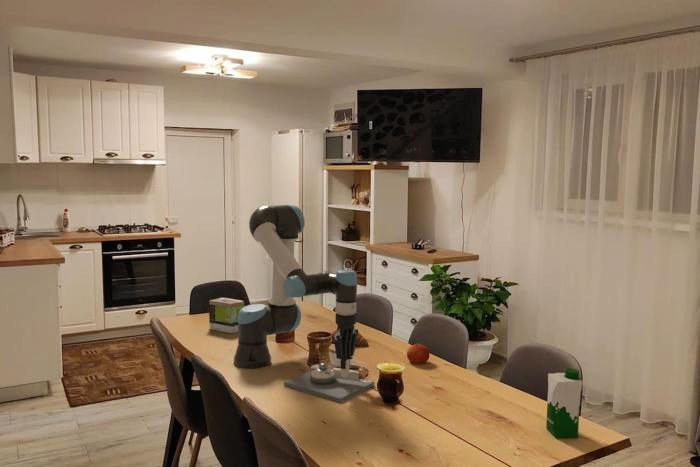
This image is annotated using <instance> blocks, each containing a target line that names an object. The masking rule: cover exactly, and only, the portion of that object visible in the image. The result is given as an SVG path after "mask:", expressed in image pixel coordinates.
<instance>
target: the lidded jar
mask: <svg viewBox="0 0 700 467" xmlns="http://www.w3.org/2000/svg"><path fill="white" fill-rule="evenodd" d="M355 354H356V348H355V349H354V355H353V356H351V357H352V359H350V365H351V364H352V363H353V362H354V359H355ZM328 355H329V356H328V357H329V359H330V363H331V364H332V366H334V367H336V368H337V367H341V360H340V359H337V357H336V350H335V344H334V343H333V344H331V345H329V347H328Z"/></svg>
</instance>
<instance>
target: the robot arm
mask: <svg viewBox="0 0 700 467" xmlns="http://www.w3.org/2000/svg"><path fill="white" fill-rule="evenodd" d="M305 221H306V220H305V216H304V213H303V212H302V210H301V209H300V207H298V206H297V205H294V204H293V205H290V204H277V205H263V206H259V207H258V208H257V209H255V210H254V211H253V212H252V214H251V215H250V218H249V221H248V224H249V225H248V228H249V232H250V234H251V236H252V237H253V239H254V240H255V241H256V242H258V243H260V245H261V246H262V247H263V249H264V250H265V252H266V254H267V255H268V256H269V259H270V260H271V262H272V283H271V284H272V288H271V289H272V290H271V291H272V292H271V298H270V299H269V300H268V301H267V305H266V304H263V303H257V304H255V303H254V304H248V305H244V307H243V308H241V309H240V311H239V313H238V332H237V338H238V339H237V340H238V341H237V343H238V344H237V346H236V351H235V355H234V357H233V364H234V365H235V366H236V367H239V368H244V369H245V368H246V369H256V368H257V369H258V368H263V367H266V366H269V365H270V364H271V363H272V356H271V354H270V350H269V349H270V348H269V346H268V340H267V339H268V336H272V335H277V334H282V333H283V334H284V333H290V332H293V331H295V330H297V329H298V327H299V326H300V324H301V321H302V320H301V319H302V312H301V311H300V310H301V308H300V306H299V305H298V304H297V303H296V302H297V301H296V300H295V298H302V297H303V298H304V297H309V296H316V295H323V294H332V295H335V320H334V321H335V324H336V325H337V328H336V330H337V333H336V334H335V335H334V334H333V336H332V337H333V339H334V343H333V345H334V344H335V350H336V357H337V359H340V360H341V368H340V369H341V377H345V378H348V377H349V370H350V365H351V364H350V359H352V357H351V356H353V355H354V349H355V350H356V346H355V343H356V337H357V334H358V332H359V329H357V328H355V325H356V324H357V314H356V313H357V298H358V296H357V293H358V292H357V291H358V276H357V272H356V271H355V270H353V269H352V270H351V269H338V270H337V271H336V273H334V272H331V271H328V270H325V271H324V270H323V271H319V272H318V273H311V274H307V273H306V272H305V271H304V269H303V268H302V266H301V265H300V263H299V262H298V261H297V259H296V257H295V242H296V241H297V240H298V239H299V234H301V233H302V232H303V231H304V229H305V225H306V224H305Z"/></svg>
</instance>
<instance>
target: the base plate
mask: <svg viewBox="0 0 700 467" xmlns="http://www.w3.org/2000/svg"><path fill="white" fill-rule="evenodd" d="M283 384H284V385H283V386H285V387H288V388H291V389H293V390H294V389H295V390H297V391H300V392H303V393H307V394H311V395H312V396H313V395H314V396H317V397H321V398H324V399H327V400H329V401H333V402H337V403H343V402H346V401H347V400H349V399H350V398H352V397H353V398H354V396H356V395H358V394H360V393H363V392H364V391H366V390H368V389H371V388H372V387H375V381H373V380H370V379H366V378H365V379H362V381H361V382H359V381H352V380H345V379H336V381H335V382H333V383H329V384H317V383H313V382H311V381H310V370H308V372H307V371H306V372H305V373H303V374H300V375H298V376H294V377H293V378H290V379H288V380H285V381H284V382H283Z"/></svg>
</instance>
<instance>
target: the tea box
mask: <svg viewBox="0 0 700 467" xmlns="http://www.w3.org/2000/svg"><path fill="white" fill-rule="evenodd" d="M208 306H209V307H208V311H209V314H208V315H209V317H208V319H209V320H208V322H209V324H208V325H209V326H208V327H209V328H208V329H209V330H212V331H217V332H223V333H228V334H234V333H235V334H236V333H238V313H239V311H240V309H241V308H243V307H245V300H241V299H234V298H228V297H219V298H215V299H210V300H209V301H208Z"/></svg>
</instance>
